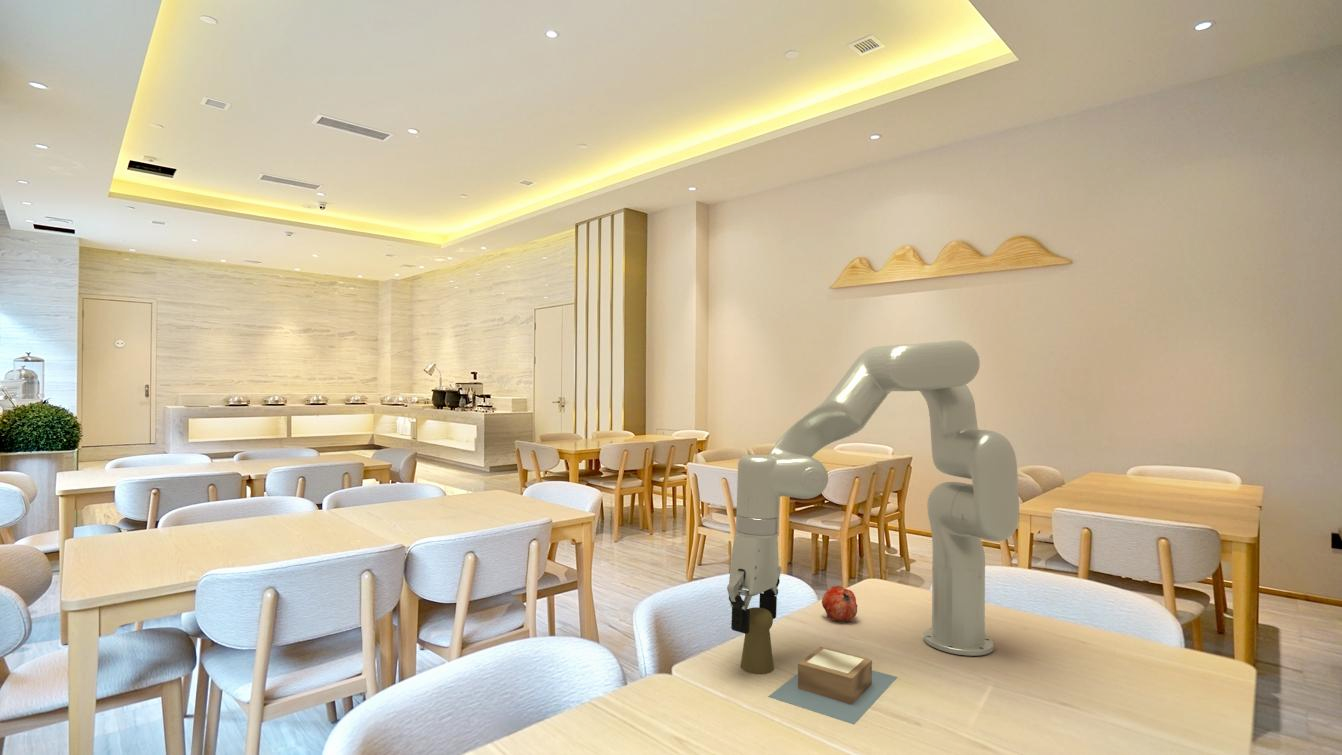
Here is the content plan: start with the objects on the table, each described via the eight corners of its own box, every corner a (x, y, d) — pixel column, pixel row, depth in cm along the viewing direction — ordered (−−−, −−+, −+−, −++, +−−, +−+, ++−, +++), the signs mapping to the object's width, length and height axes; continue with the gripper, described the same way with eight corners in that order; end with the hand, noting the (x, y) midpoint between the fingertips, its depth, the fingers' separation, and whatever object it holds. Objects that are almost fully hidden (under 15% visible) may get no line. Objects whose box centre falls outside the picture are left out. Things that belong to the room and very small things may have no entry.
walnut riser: (820, 670, 114) (820, 645, 114) (871, 684, 108) (871, 658, 108) (797, 688, 106) (798, 662, 107) (851, 704, 101) (851, 677, 101)
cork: (773, 682, 111) (774, 616, 111) (738, 678, 112) (738, 613, 112) (775, 667, 117) (776, 605, 117) (741, 664, 118) (742, 602, 118)
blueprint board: (819, 661, 120) (819, 656, 120) (897, 682, 111) (897, 677, 111) (768, 702, 103) (768, 696, 104) (854, 731, 95) (854, 724, 95)
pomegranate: (817, 626, 144) (829, 610, 136) (815, 593, 149) (827, 576, 141) (850, 630, 144) (864, 615, 136) (848, 597, 149) (861, 581, 141)
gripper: (762, 516, 125) (759, 607, 124) (712, 529, 111) (709, 632, 110) (798, 522, 120) (795, 616, 120) (751, 536, 106) (748, 643, 106)
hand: (754, 624), depth 115 cm, fingers open, 9 cm apart
